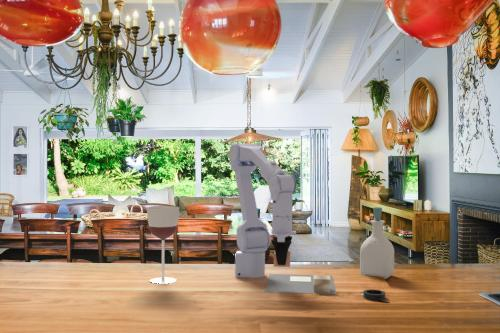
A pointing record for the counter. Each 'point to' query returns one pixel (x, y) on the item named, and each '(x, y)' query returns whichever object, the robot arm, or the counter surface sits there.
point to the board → (294, 284)
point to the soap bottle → (377, 251)
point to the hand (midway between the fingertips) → (281, 262)
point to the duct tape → (374, 295)
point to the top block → (321, 283)
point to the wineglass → (163, 231)
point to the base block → (286, 261)
